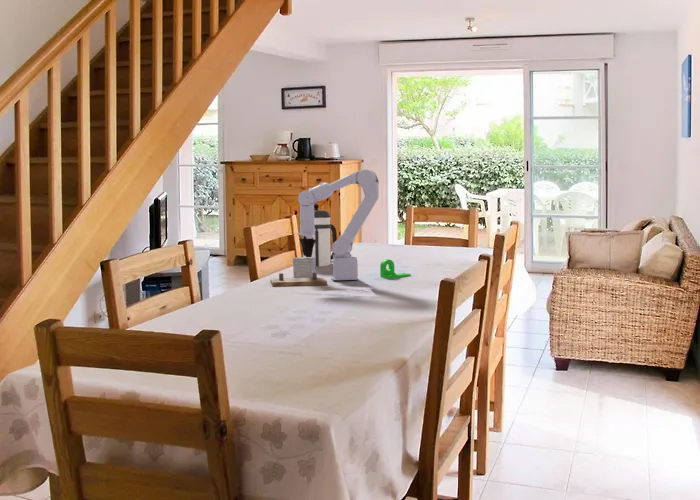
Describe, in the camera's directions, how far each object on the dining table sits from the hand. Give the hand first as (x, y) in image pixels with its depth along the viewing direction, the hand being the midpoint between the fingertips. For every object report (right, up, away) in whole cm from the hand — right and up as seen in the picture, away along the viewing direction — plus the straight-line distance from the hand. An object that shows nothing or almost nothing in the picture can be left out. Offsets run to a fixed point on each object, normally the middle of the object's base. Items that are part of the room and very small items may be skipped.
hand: (307, 256), depth 303 cm
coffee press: (+3, -7, +36) cm, 36 cm away
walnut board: (-3, -10, -12) cm, 16 cm away
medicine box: (-2, -9, +4) cm, 11 cm away
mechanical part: (+35, -9, +4) cm, 37 cm away
